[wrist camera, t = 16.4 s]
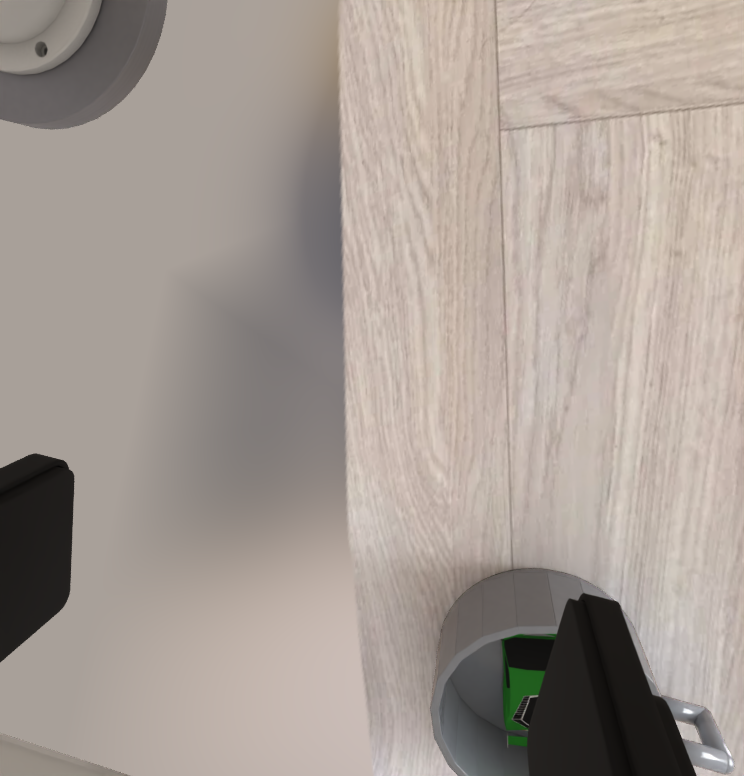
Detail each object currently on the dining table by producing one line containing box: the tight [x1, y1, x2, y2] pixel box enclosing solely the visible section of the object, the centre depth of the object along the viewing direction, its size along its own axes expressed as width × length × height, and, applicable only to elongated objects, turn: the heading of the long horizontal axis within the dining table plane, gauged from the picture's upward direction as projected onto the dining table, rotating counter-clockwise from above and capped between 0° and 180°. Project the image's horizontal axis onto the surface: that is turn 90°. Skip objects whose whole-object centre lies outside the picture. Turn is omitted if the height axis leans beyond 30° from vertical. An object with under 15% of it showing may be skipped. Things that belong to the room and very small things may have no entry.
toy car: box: [501, 634, 557, 748], centre depth 38 cm, size 10×5×2 cm, turn 4°
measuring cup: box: [430, 569, 735, 776], centre depth 36 cm, size 17×13×6 cm
